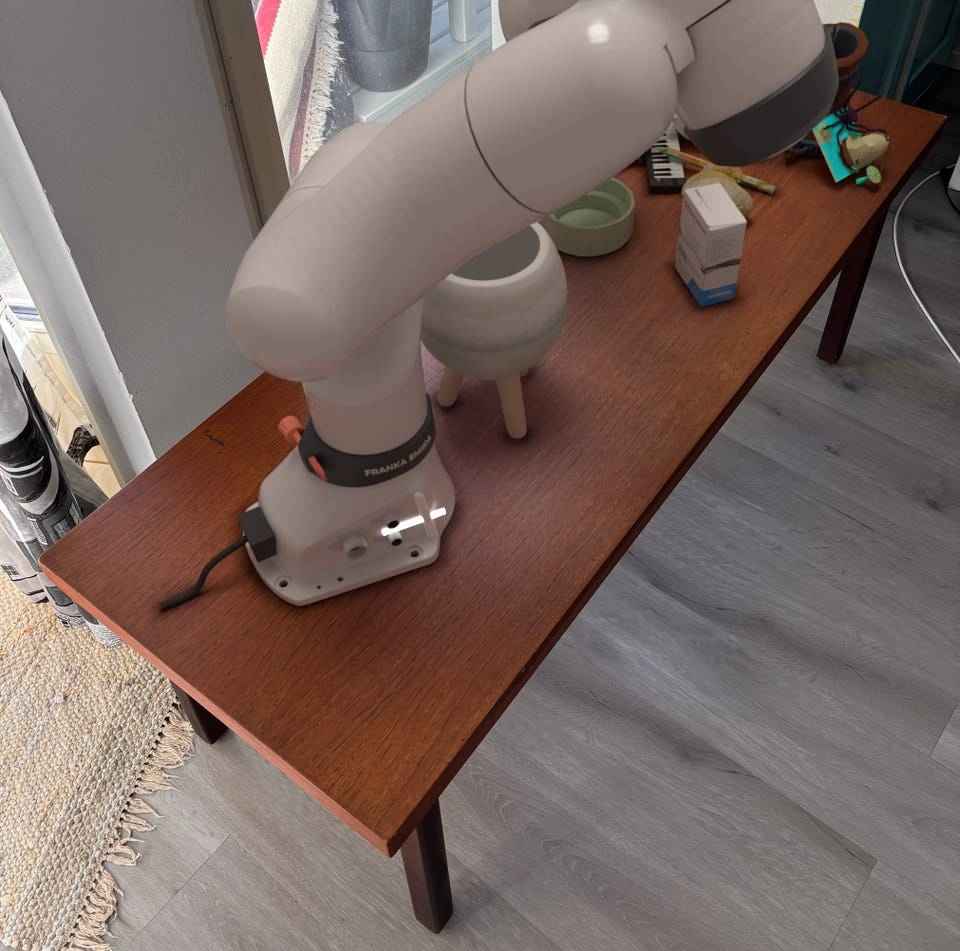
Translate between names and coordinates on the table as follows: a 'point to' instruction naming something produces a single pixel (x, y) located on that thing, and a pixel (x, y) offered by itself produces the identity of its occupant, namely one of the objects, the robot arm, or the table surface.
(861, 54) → the mug
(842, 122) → the diorama
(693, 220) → the ink box
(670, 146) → the midi keyboard
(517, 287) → the planter
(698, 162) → the pencil
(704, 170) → the seashell
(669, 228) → the table surface
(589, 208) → the bowl
